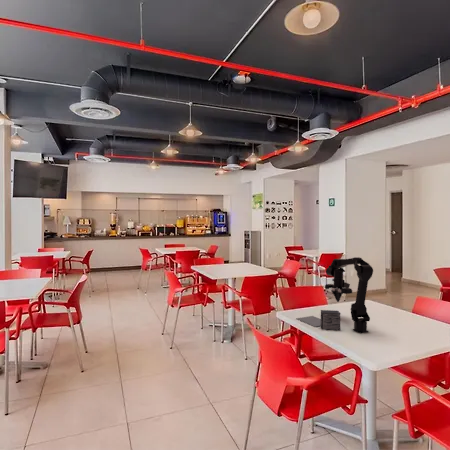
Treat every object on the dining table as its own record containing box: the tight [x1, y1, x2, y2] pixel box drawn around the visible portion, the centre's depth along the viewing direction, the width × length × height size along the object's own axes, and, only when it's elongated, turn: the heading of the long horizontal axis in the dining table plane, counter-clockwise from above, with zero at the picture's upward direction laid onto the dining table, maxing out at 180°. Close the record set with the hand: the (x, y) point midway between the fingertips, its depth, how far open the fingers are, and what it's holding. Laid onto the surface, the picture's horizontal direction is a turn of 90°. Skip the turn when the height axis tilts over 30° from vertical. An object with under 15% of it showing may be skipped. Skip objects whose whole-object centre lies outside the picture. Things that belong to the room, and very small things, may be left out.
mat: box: [295, 315, 321, 328], centre depth 210 cm, size 18×14×1 cm
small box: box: [320, 309, 341, 331], centre depth 197 cm, size 11×6×10 cm, turn 84°
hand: (337, 301), depth 215 cm, fingers closed
